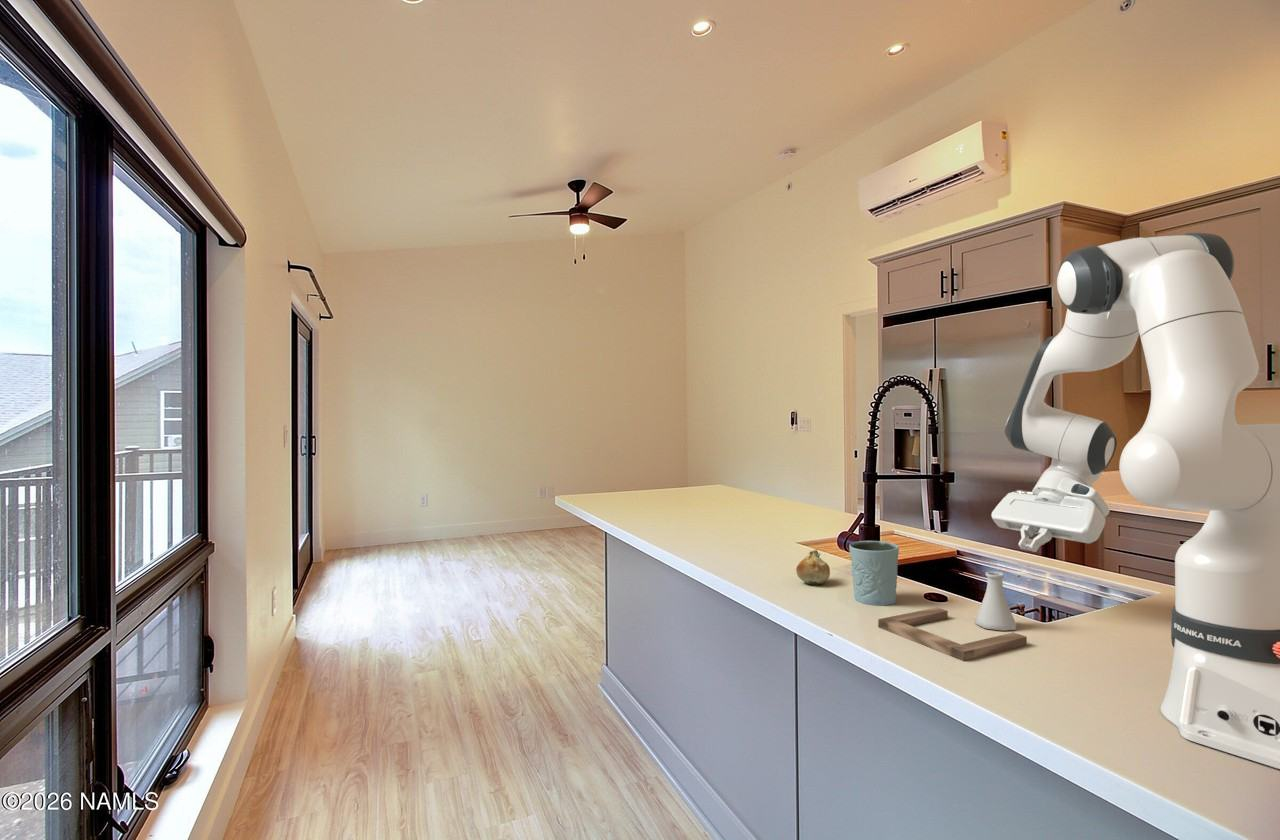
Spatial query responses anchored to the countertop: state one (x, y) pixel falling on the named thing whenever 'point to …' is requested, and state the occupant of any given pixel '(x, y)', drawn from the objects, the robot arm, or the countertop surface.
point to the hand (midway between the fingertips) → (1026, 548)
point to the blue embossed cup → (874, 572)
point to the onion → (813, 569)
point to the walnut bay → (963, 652)
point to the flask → (995, 606)
